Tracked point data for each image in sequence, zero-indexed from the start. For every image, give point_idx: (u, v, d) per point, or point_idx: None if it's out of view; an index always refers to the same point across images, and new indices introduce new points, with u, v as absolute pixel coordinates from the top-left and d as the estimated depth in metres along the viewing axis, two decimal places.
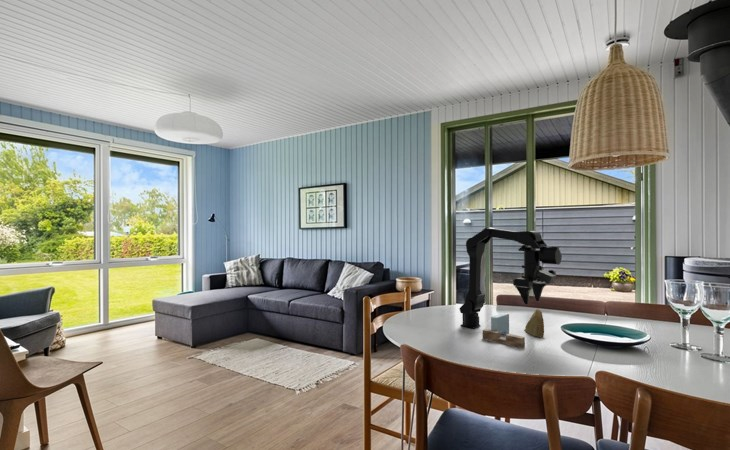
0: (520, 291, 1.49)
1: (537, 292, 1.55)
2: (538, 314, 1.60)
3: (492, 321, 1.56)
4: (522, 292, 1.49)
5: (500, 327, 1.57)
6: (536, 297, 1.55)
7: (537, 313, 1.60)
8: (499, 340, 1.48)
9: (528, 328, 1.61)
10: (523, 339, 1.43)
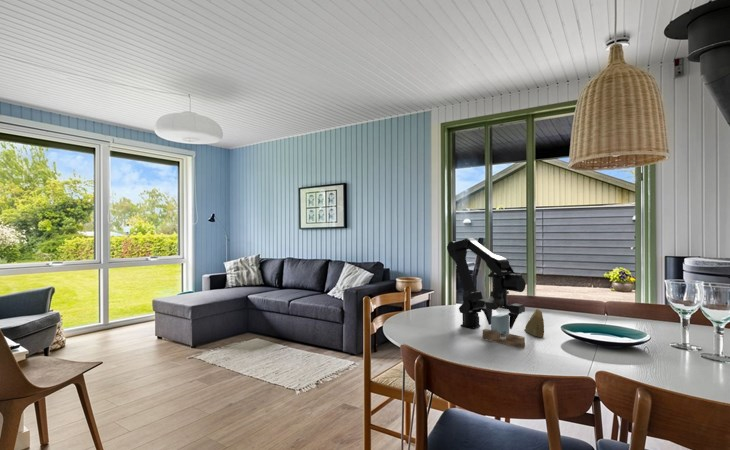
0: None
1: None
2: (538, 314, 1.60)
3: (492, 321, 1.56)
4: None
5: (500, 327, 1.57)
6: None
7: (537, 313, 1.60)
8: (499, 340, 1.48)
9: (528, 328, 1.61)
10: (523, 339, 1.43)
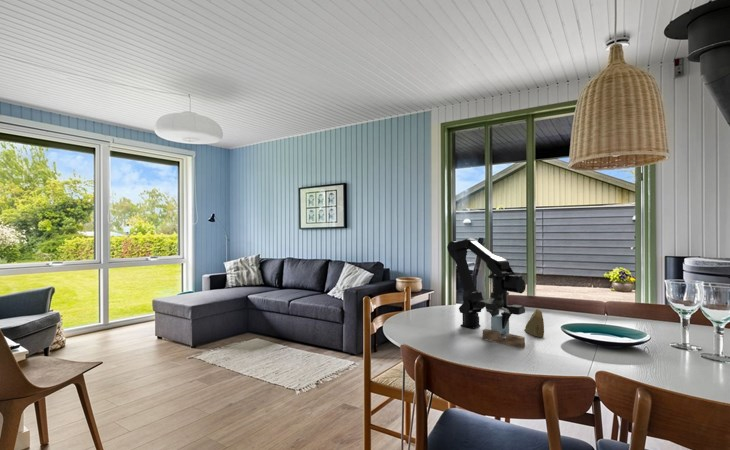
0: None
1: None
2: (538, 314, 1.60)
3: (492, 321, 1.56)
4: None
5: (500, 327, 1.57)
6: None
7: (537, 313, 1.60)
8: (499, 340, 1.48)
9: (528, 328, 1.61)
10: (523, 339, 1.43)
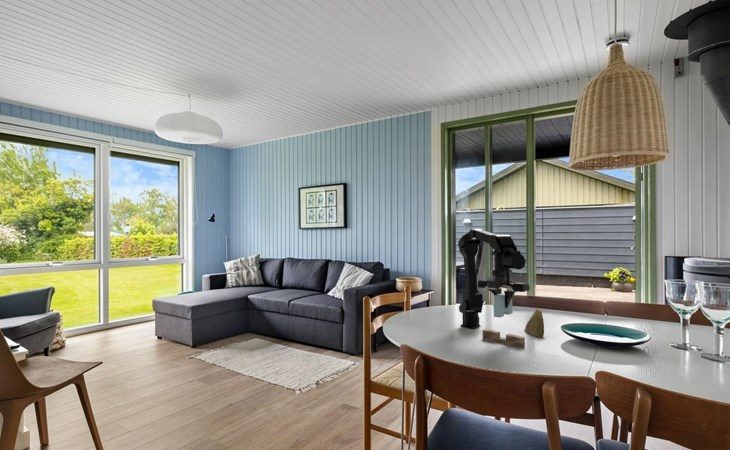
0: None
1: None
2: (538, 314, 1.60)
3: (494, 300, 1.47)
4: (497, 294, 1.52)
5: (503, 306, 1.47)
6: None
7: (537, 313, 1.60)
8: (499, 340, 1.48)
9: (528, 328, 1.61)
10: (523, 339, 1.43)
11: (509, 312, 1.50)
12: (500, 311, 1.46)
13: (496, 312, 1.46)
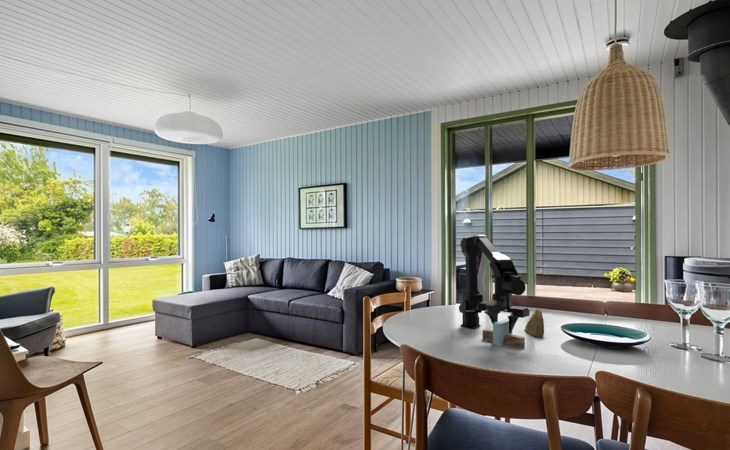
0: None
1: None
2: (538, 314, 1.60)
3: (494, 328, 1.46)
4: None
5: (502, 334, 1.46)
6: None
7: (537, 313, 1.60)
8: None
9: (528, 328, 1.61)
10: (523, 339, 1.43)
11: None
12: (499, 339, 1.45)
13: (495, 340, 1.45)
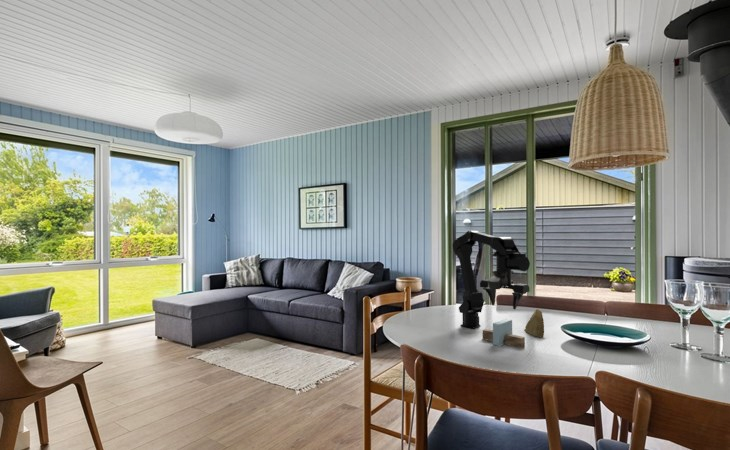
0: None
1: None
2: (538, 314, 1.60)
3: (494, 328, 1.46)
4: None
5: (502, 334, 1.46)
6: None
7: (537, 313, 1.60)
8: None
9: (528, 328, 1.61)
10: (523, 339, 1.43)
11: None
12: (499, 339, 1.45)
13: (495, 340, 1.45)
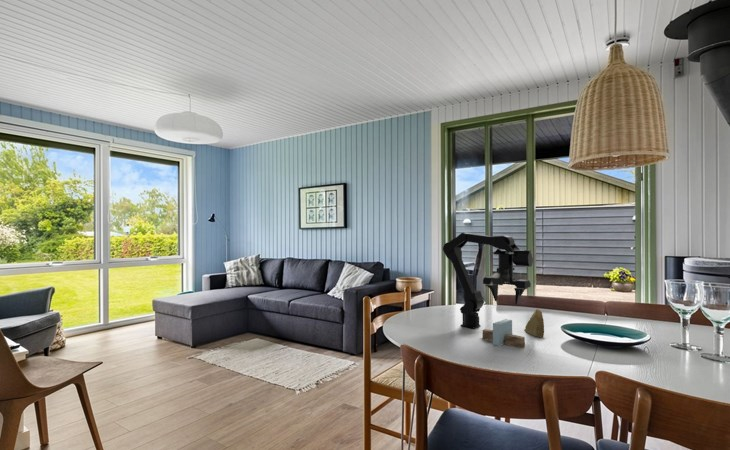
0: None
1: None
2: (538, 314, 1.60)
3: (494, 328, 1.46)
4: None
5: (502, 334, 1.46)
6: None
7: (537, 313, 1.60)
8: None
9: (528, 328, 1.61)
10: (523, 339, 1.43)
11: None
12: (499, 339, 1.45)
13: (495, 340, 1.45)
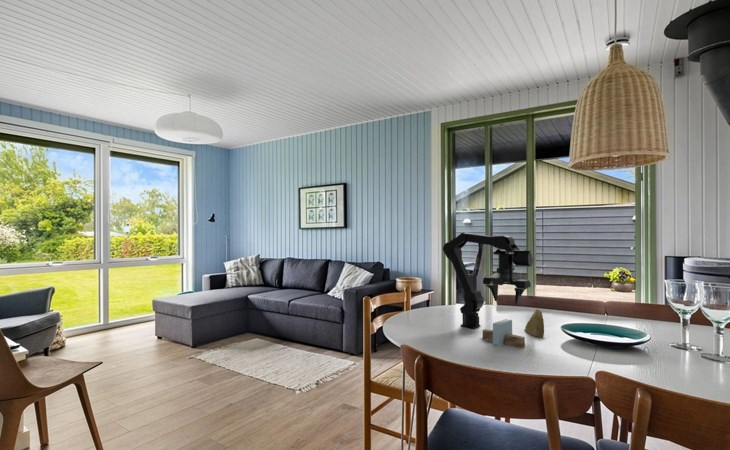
0: None
1: None
2: (538, 314, 1.60)
3: (494, 328, 1.46)
4: None
5: (502, 334, 1.46)
6: None
7: (537, 313, 1.60)
8: None
9: (528, 328, 1.61)
10: (523, 339, 1.43)
11: None
12: (499, 339, 1.45)
13: (495, 340, 1.45)
